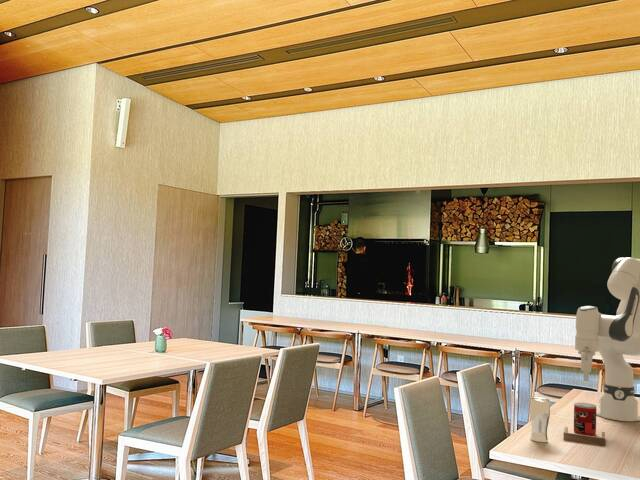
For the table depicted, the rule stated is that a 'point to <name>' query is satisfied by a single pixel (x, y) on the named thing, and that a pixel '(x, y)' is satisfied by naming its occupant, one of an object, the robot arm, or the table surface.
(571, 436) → the open wooden square
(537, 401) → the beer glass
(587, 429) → the canned food
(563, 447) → the table surface
